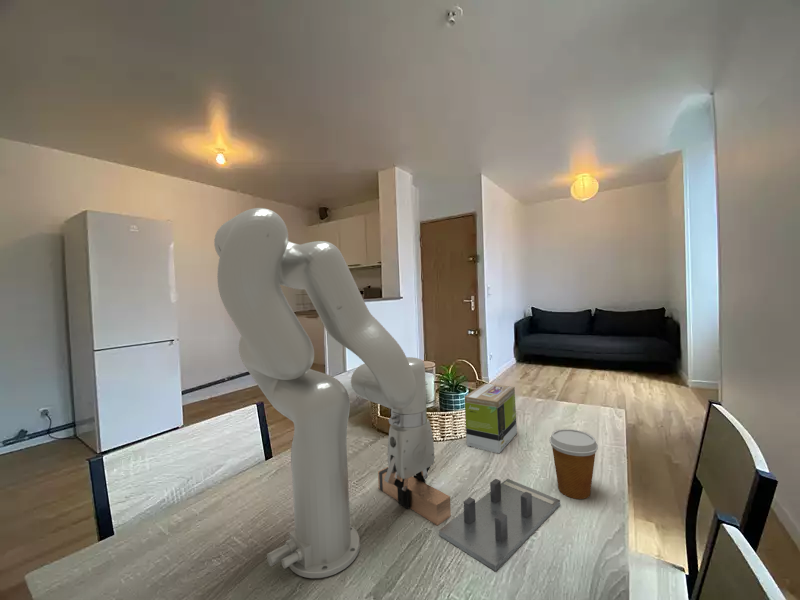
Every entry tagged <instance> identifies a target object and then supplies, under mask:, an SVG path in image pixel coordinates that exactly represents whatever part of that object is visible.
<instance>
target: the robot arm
mask: <svg viewBox="0 0 800 600" xmlns="http://www.w3.org/2000/svg"><path fill="white" fill-rule="evenodd" d="M213 243H214V249H215V251H216V255H217V256H218V258H219V259H218V264H217V265H218V266H217V287H218V292H219V293H218V294H219V296H220V299H221V302H222V304H223V307H224V308H225V310H226V312H227V314H228V315H229V317H230V318H231V321H232V322H233V323H234V326H235V328H236V329H237V330H238V333H239V334H240V339H239V343H238V352H239V357H240V359H241V362H242V364H243V366H244V367H245V369H246V370H247V372H248V373H249V374H250V377H252V379H253V380H254V381H255V383H256V385H257V386H258V388H259V389H260V391H261V392H262V393H263V395H264V396H265V398H266V399H267V400H268V402H269V403H270V404H271V406H272V407H273V408H274V409H275V410H276V411H277V412H278V413H280V414H281V415H283V416H284V417H286V419H288V420H289V421H291V422H293V426H294V427H293V428H294V432H293V438H292V443H291V449H290V450H291V451H290V463H291V464H290V465H291V480H292V481H291V482H292V498H293V499H292V500H293V515H294V517H293V518H294V520H293V521H294V529H293V530H291V531H289V539H288V540H286V541H285V542H284V545H282V546H280V547H277V548H275V549H273V550H272V551H270V552H269V553H268V552H267V553H266V554H267V555H266V558H267V563H268V565H269V566H270V567H273V566H274V565H277V563H280V562H281V566H282V568H283V569H287V568H288V567H289V569H290V570H291V571H292V572H293V573H294V574H295V575H298V576H300V577H304V578H308V579H323V578H327V577H328V578H329V577H330V576H331V577H332V576H333V575H336V574H338V573H340V572H342V571H344V570H345V569H347V567H349V566H350V565H351V564H352V563H353V562H354V560H356V559H357V556H358V555H359V553H360V548H361V538H360V534H359V532H358V530H357V529H355V527H353V526H352V525H351V514H350V513H351V511H350V493H349V492H350V491H349V471H348V470H349V469H348V466H349V465H348V451H347V450H348V449H347V443H348V442H347V437H348V436H347V435H348V424H349V416H350V408H351V407H350V405H351V402H350V397H349V392H348V391H347V388H346V387H345V386H344V384H343V383H341V381H339V380H338V379H337V378H336V377H334V376H332V375H329V374H328V373H324V372H321V371H318V370H314V369H312V366H313V363H314V361H315V349H314V345H313V343H312V340H311V338H310V336H309V334H308V333H307V331H306V330H305V328H304V327H303V325H302V323H301V322H300V320H299V319H298V316H297V315H296V313H295V312H294V310H293V308H292V307H291V305H290V304H289V301H288V299H287V297H286V296H285V294H284V291H283V289H282V287H281V286H284V287H285V288H286V287H287V288H291V289H294V290H305V292H306V294H307V296H308V298H309V299H310V301H311V303H312V305H313V307H314V309H315V311H316V313H317V315H318V316H319V318H320V321H321V322H322V324H323V327H324V328H325V330H326V331H327V333H328V334H329V335H330V337H332V338H333V339H334V340H335V341H336V342H337V343H338V344H339V345H341V346H343V347H345V348H346V350H347V349H348V350H349V351H350V352H352V353H353V354H355V356H356V357H358V358H359V359H360V360H361V361H362V362H363V364H360V365H359V366H358V367H356V368H355V370H354V371H353V373H352V374H351V378H350V386H351V388H352V390H353V392H354V394H356V395H357V396H358V397H359V398H361V399H364V400H366V401H369V402H372V403H374V404H378V405H381V406H383V407H385V408H387V409H390V415H391V416H390V418H388V423H389V430H388V440H387V467H388V470H387V473H386V476H385V479H384V480H385V481H386V482H388V483H389V484H393V485H395V486H396V487H397V490H398V501H397V503H398V505H400V506H402V507H404V508H405V509H407V510H408V509H410V490H409V489H408V478H410V477H414V478H416V479H418V480H420V481H422V482H424V483H426V482H427V481H426V480H427V479H428V477H429V476H428V472H429V470H430V467H431V466H432V465H433V464H434V463H435V458H436V457H435V444H434V436H433V435H434V434H433V429H432V427H431V425H432V424H431V422H430V420H429V418H428V415H427V413H428V412H427V411H428V410H427V388H426V387H427V386H426V385H427V384H426V365H425V362H424V361H423V360H422V359H421V358H418V357H407V355H406V353H405V352H404V350H403V348H402V347H401V345H400V344H399V343H398V341H397V340H396V339H395V338H394V337H393V336H392V334H391V333H390V332H388V330H387V329H386V328H385V327H384V326H383V325H382V323H380V321H379V320H378V319H376V318H375V317H374V316H373V314H371V312H370V310H369V309H368V307H367V305H366V302H365V300H364V298H363V296H362V294H361V292H360V290H359V288H358V285H357V283H356V281H355V278H354V277H353V275H352V273H351V270H350V268H349V266H348V264H347V262H346V260H345V258H344V256H343V254H342V252H341V250H340V249H339V248H338V247H337V246H336V245H335V244H333V243H332V242H329V241H326V240H325V241H324V240H322V241H321V240H317V241H311V242H305V243H302V244H298V243H295V242H292V241H289V231H288V227H287V225H286V223H285V221H284V220H283V218H282V217H281V216H280V215H279V214H278V213H277V212H275V211H274V210H271V209H268V208H265V207H253V208H250V209H247V210H244V211H241V212H240V213H239V214H237V215H235V216H234V217H232V218H231V219H228V221H225V222H224V223H222V224H221V226H219V228H218V229H217V231H216V233H215V235H214V242H213ZM395 473H396V474H395ZM394 476H395V477H394ZM401 478H402V482H401ZM426 484H427V483H426Z"/></svg>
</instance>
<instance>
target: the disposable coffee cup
mask: <svg viewBox="0 0 800 600" xmlns="http://www.w3.org/2000/svg"><path fill="white" fill-rule="evenodd" d="M550 435H551V436H550V437H549V443H550V445H551V448H552V449H551V450H552V454H553V463H554V468H555V474H556V481H557V489H558V491H559V492H560V493H561V494H562V495H563V496H565V497H568V498H571V499H576V500H584V499H587V498H589V497H591V491H592V482H593V477H594V476H593V474H594V467H595V460H596V453H597V451H598V448H599V445H598V442H597V441H596V438H595V437H594V436H593V435H591V434H590V433H587V432H584V431H582V430H577V429H571V428H566V429H565V428H563V429H556V430H554V431H552V432H551V434H550Z"/></svg>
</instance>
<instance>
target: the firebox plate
mask: <svg viewBox="0 0 800 600" xmlns="http://www.w3.org/2000/svg"><path fill="white" fill-rule="evenodd" d="M489 487H490V488H489V490H490V491H489V492H488V493H486V494H485V495H484V496H482V497H481V498H480V499H478V500H477V501H476V499H475V498H473V497H468V498H466V499H465V500H463V511H462V512H461V513H460V514H459V515H457V516H456V517H454V518H453V519H452V520H451V521H450V520H449V522H448V523H446V524H445V525H443V526H442V527H441V528H440V529H439V530H438V536H440V537H441V538H442V539H444V540H445V541H447V542H449V543H451V544H452V545H453V546H455V547H457V548H458V549H460V550H461V551H463V552H464V553H466V554H468V556H470V557H472V558H474V559H475V560H476V561H478V562H480V563H482V565H485V566H486V567H488V568H489V569H491V570H492V571H494V572H497V571H498V570H499V569H500V568H501V567H502V566H503V565H504V564H505V563H506V562H508V560H509V559H510V558H511V557H512V556H513V555H514V554H515V553H516V552H517V551H518V550H519V549H520V548H521V547H522V545H523V544H524V543H525V542H526V541H527V540H528V539H529V538H530V537H531V536H533V534H534V533H535V532H536V531H537V530H538V529H539V528H540V526H542V525H543V523H544V522H545V521H546V520H547V519H548V518H550V516H551V515H552V514H553V513H554V512H555V511H556V510H557V509H558V508H559V507H560V506H561V500H560V499H559V498H555V497H553V496H550V495H548V494H545V493H544V492H542V491H538V490H536V489H534V488H532V487H529V486H527V485H524V484H522V483H519V482H517V481H515V480H512V479H509V478H506V479H505V480H504V481H502V483H501V480H499V479H497V478H495V479H492V481H490V485H489Z"/></svg>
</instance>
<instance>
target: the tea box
mask: <svg viewBox="0 0 800 600" xmlns="http://www.w3.org/2000/svg"><path fill="white" fill-rule="evenodd" d="M515 387H516V386H510V385H500V384H493V383H485V382H484V383H483V384H481V385H480V386H478V387H477V388H475V389H474V390H472V391H471V392H469V393H468V394H467V395H465V396H464V412H465V414H464V417H465V431H466V432H465V433H466V434H465V435H466V437H465V438H466V445H467V447H470V446H471V447H470V448H474V447H475V449H478V448H479V449H478V450H483V451H487V452H492V453H496V454H500V453H502V451H503V450H504V449H505V447H507V445H508V444H509V443H510V442H511V441H513V440H512V439H514V437H515V436H516V435H517V434H518V429H517V409H516V391H515V389H516V388H515Z"/></svg>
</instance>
